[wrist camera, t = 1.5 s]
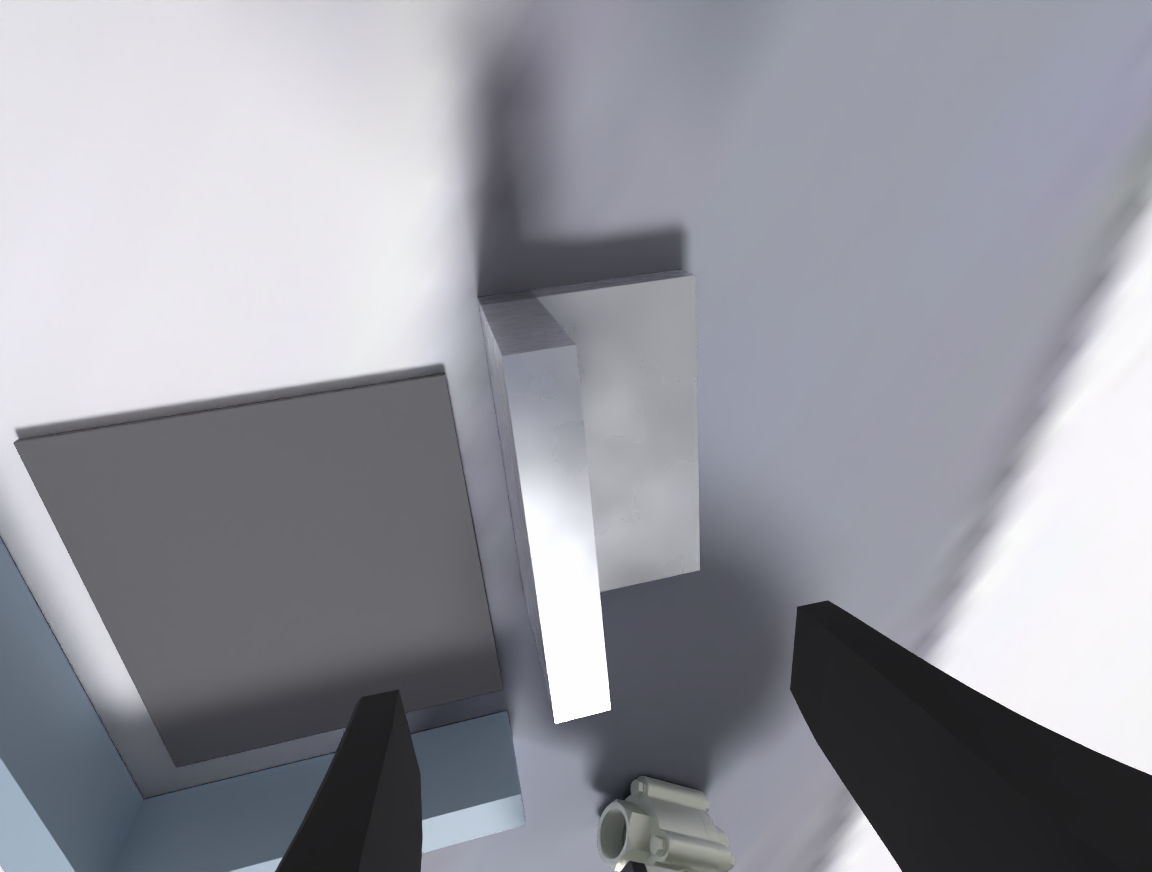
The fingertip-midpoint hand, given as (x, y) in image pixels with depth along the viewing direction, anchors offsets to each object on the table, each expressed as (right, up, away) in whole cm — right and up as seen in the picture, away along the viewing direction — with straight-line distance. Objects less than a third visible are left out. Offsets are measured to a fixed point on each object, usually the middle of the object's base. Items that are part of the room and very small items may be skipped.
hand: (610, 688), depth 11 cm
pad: (-9, 0, +9) cm, 13 cm away
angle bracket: (0, +4, +9) cm, 10 cm away
